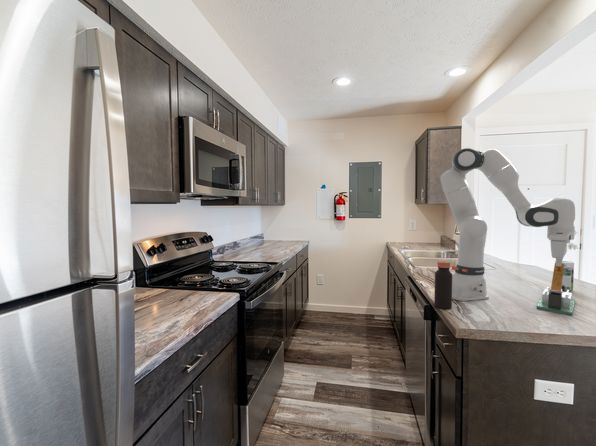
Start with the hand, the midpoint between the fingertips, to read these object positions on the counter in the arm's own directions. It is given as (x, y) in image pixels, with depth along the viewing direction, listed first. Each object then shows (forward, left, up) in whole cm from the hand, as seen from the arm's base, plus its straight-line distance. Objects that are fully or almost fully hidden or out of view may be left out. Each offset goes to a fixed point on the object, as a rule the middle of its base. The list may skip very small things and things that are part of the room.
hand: (559, 265), depth 128 cm
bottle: (-50, +18, -17) cm, 56 cm away
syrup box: (+29, +11, -17) cm, 36 cm away
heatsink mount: (-3, -1, -17) cm, 17 cm away
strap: (-4, -1, -5) cm, 7 cm away
